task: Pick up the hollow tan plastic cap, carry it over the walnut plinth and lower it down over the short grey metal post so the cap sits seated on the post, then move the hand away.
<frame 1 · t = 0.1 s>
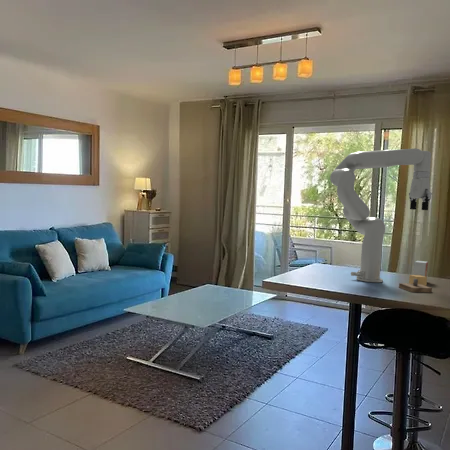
hand: (418, 209, 229), 37 cm above the table, tool pointing down, fingers open, 9 cm apart
small box: (419, 282, 231), on the table
post plinth: (415, 289, 208), on the table
cap: (417, 286, 218), on the table
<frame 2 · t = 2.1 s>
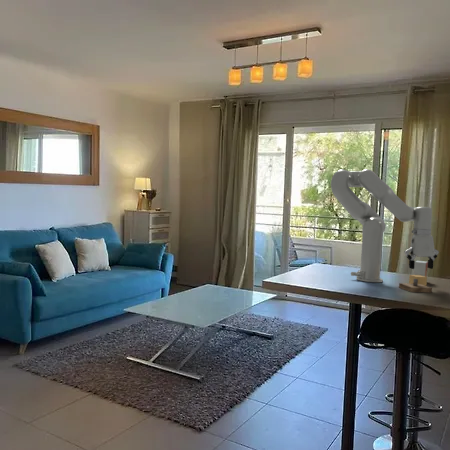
hand: (421, 268, 217), 9 cm above the table, tool pointing down, fingers open, 9 cm apart
nothing on the table moved.
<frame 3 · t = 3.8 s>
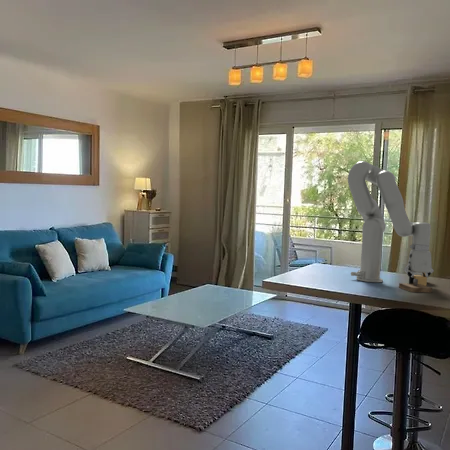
hand: (417, 285, 218), 1 cm above the table, tool pointing down, fingers closed on cap, 5 cm apart
cap: (417, 286, 218), on the table, touching gripper
everything else where it was.
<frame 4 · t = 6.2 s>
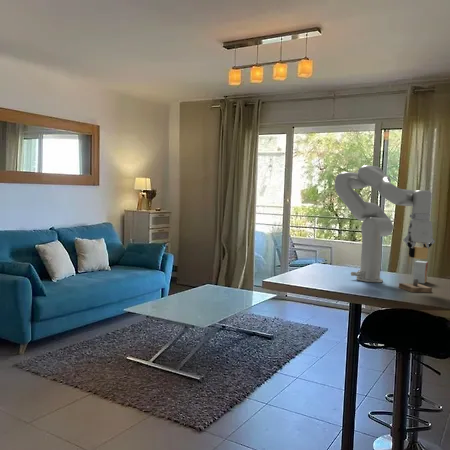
hand: (418, 256, 207), 15 cm above the table, tool pointing down, fingers closed on cap, 5 cm apart
cap: (418, 257, 207), point 15 cm above the table, touching gripper
everything else where it was.
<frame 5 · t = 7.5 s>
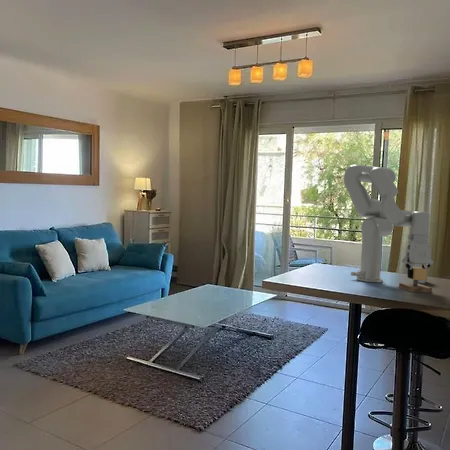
hand: (416, 277, 207), 6 cm above the table, tool pointing down, fingers closed on cap, 5 cm apart
cap: (416, 278, 207), point 5 cm above the table, touching gripper
everything else where it was.
when the fingers open (3 cm above the table, at t = 8.7 s): cap stays where it is, resting on post plinth.
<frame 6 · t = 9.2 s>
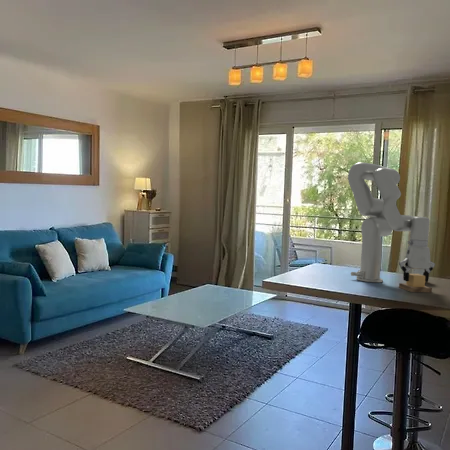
hand: (415, 281, 207), 4 cm above the table, tool pointing down, fingers open, 9 cm apart
cap: (415, 285, 207), point 2 cm above the table, touching post plinth
everything else where it was.
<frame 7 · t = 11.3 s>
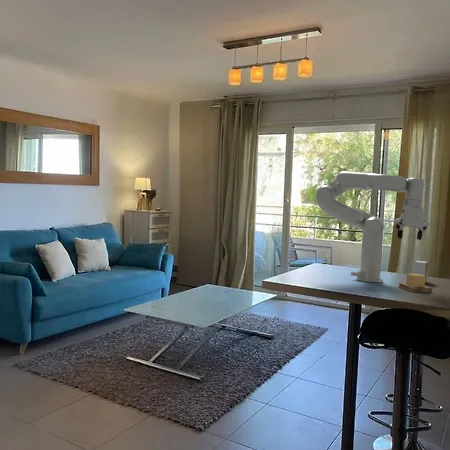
hand: (409, 238, 220), 22 cm above the table, tool pointing down, fingers open, 9 cm apart
nothing on the table moved.
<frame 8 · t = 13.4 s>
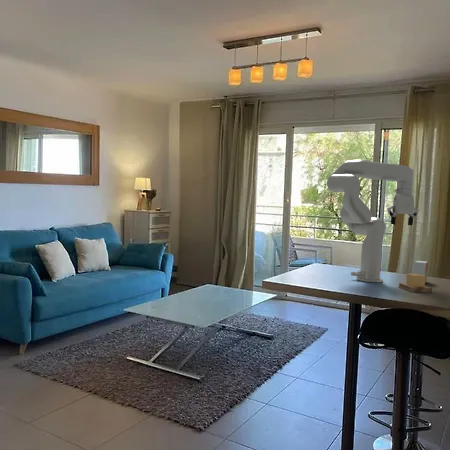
hand: (401, 224, 237), 28 cm above the table, tool pointing down, fingers open, 9 cm apart
nothing on the table moved.
at the end: cap 0.0 cm off-centre on the post plinth, point 2.0 cm above the post plinth's base; cap tilted 0°; the gripper is holding nothing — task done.
